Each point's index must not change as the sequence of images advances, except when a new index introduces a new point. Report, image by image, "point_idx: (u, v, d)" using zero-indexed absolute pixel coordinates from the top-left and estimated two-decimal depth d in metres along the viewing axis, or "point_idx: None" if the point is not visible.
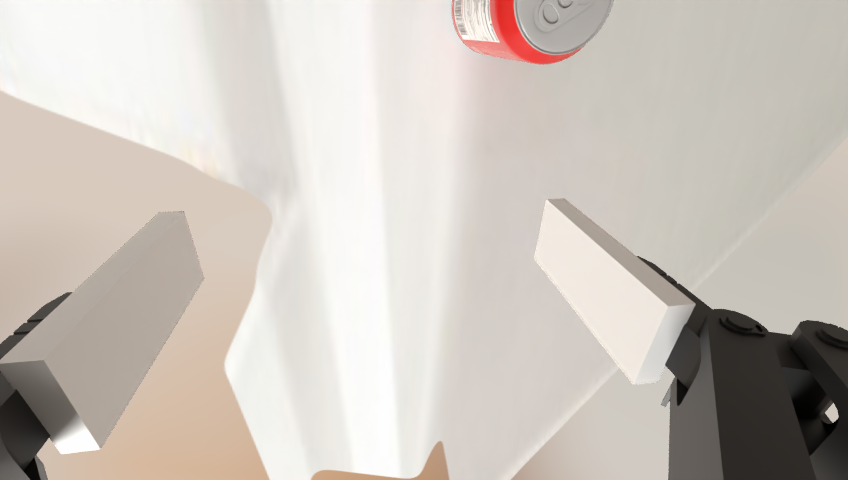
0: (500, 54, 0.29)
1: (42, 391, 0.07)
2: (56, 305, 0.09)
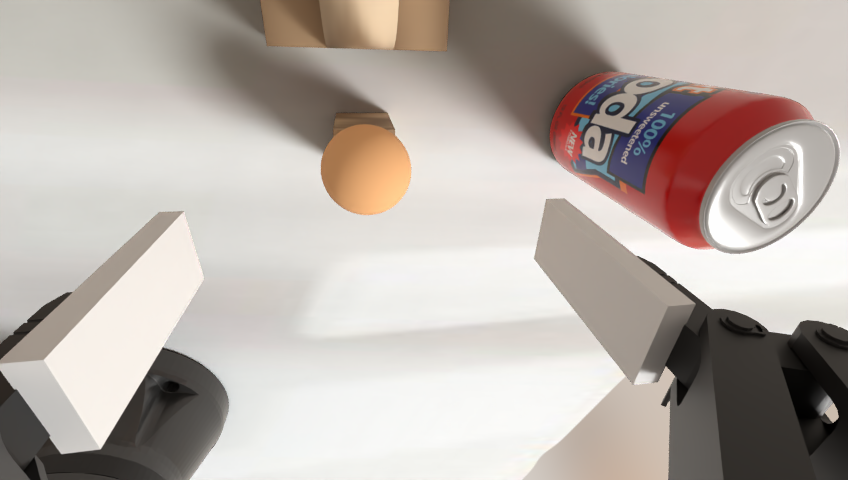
0: None
1: (41, 392, 0.07)
2: (56, 305, 0.09)
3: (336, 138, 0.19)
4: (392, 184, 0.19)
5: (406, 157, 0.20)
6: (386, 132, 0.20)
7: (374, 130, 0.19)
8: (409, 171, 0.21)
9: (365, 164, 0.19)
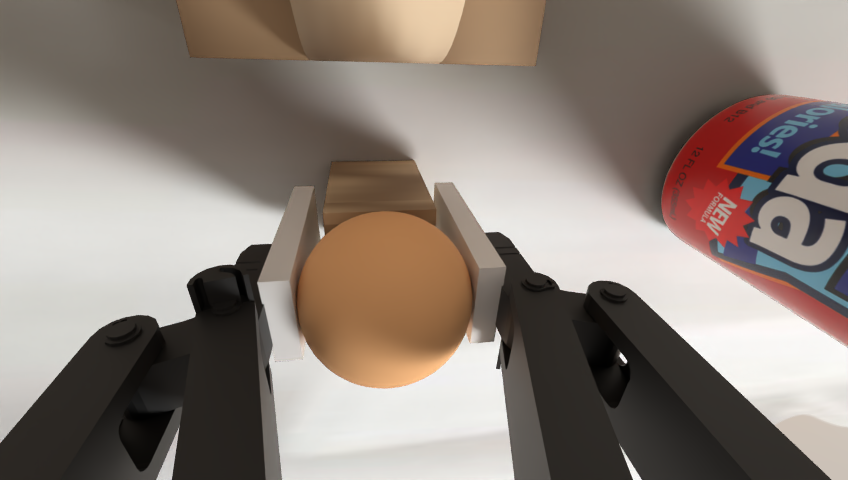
0: None
1: (278, 307, 0.10)
2: (250, 253, 0.12)
3: (326, 252, 0.09)
4: (443, 348, 0.09)
5: (467, 281, 0.10)
6: (429, 235, 0.10)
7: (405, 235, 0.09)
8: (471, 305, 0.10)
9: (387, 321, 0.08)
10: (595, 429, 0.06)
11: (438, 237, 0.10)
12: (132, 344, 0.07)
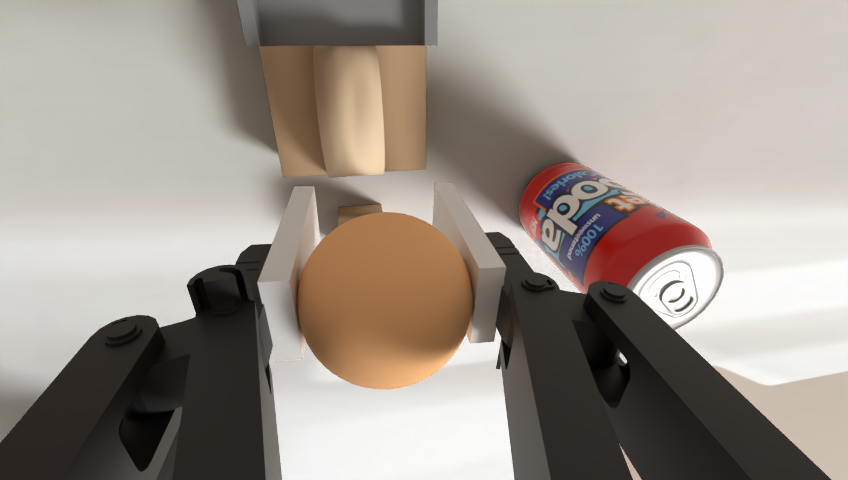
0: None
1: (278, 307, 0.10)
2: (250, 253, 0.12)
3: (326, 253, 0.09)
4: (443, 349, 0.09)
5: (467, 282, 0.10)
6: (429, 236, 0.10)
7: (405, 236, 0.09)
8: (471, 306, 0.10)
9: (388, 322, 0.09)
10: (595, 429, 0.06)
11: (438, 238, 0.10)
12: (132, 344, 0.07)
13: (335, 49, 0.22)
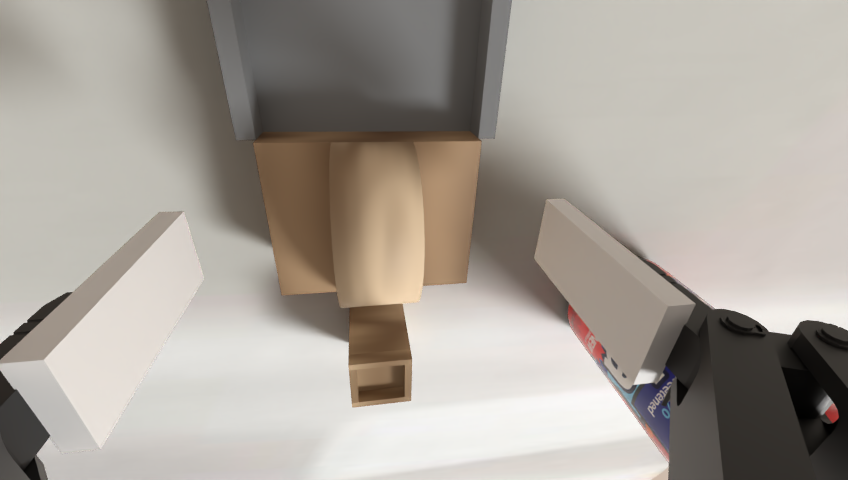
0: None
1: (41, 392, 0.07)
2: (56, 305, 0.09)
3: None
4: None
5: None
6: None
7: None
8: None
9: None
10: None
11: None
12: None
13: (360, 153, 0.16)
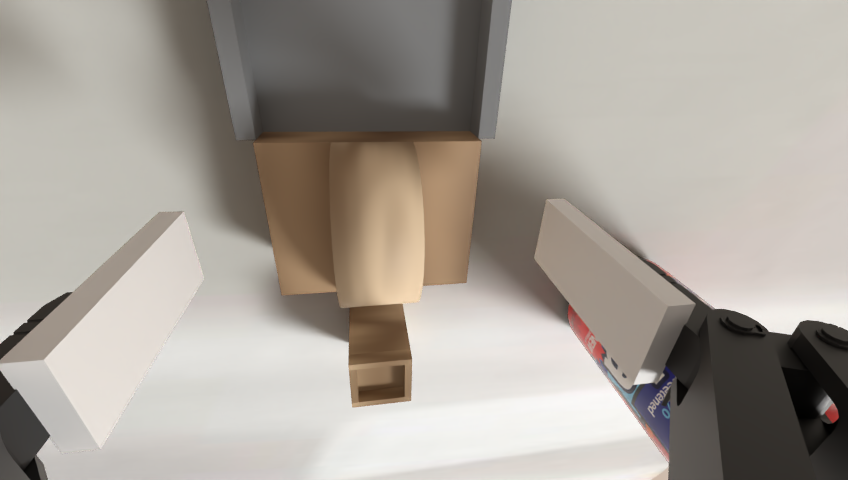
0: None
1: (41, 392, 0.07)
2: (56, 305, 0.09)
3: None
4: None
5: None
6: None
7: None
8: None
9: None
10: None
11: None
12: None
13: (360, 153, 0.16)
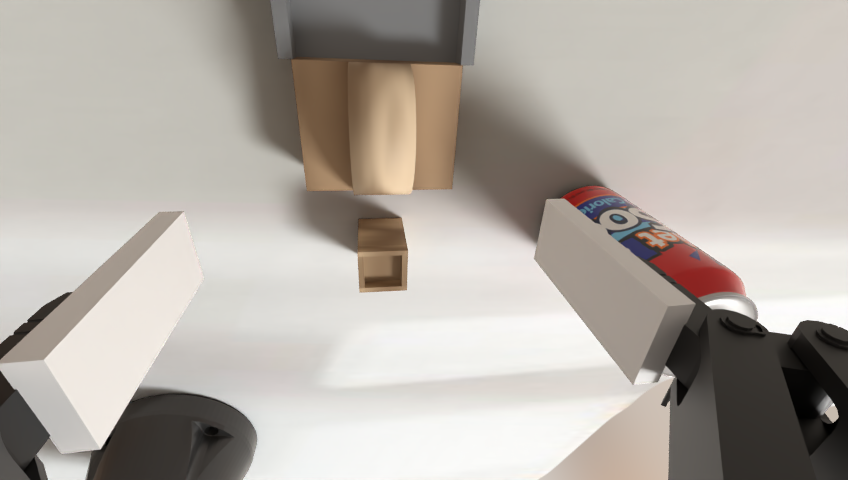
0: None
1: (41, 392, 0.07)
2: (56, 305, 0.09)
3: None
4: None
5: None
6: None
7: None
8: None
9: None
10: None
11: None
12: None
13: (370, 67, 0.21)
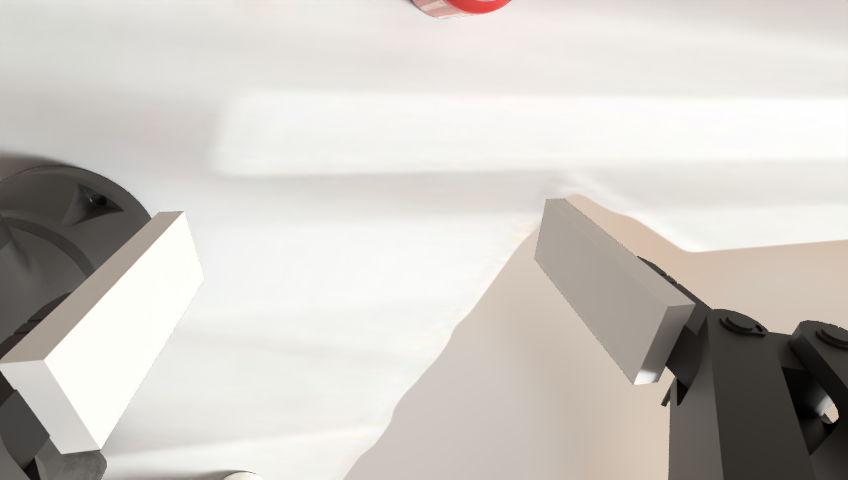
0: None
1: (41, 392, 0.07)
2: (56, 305, 0.09)
3: None
4: None
5: None
6: None
7: None
8: None
9: None
10: None
11: None
12: None
13: None
